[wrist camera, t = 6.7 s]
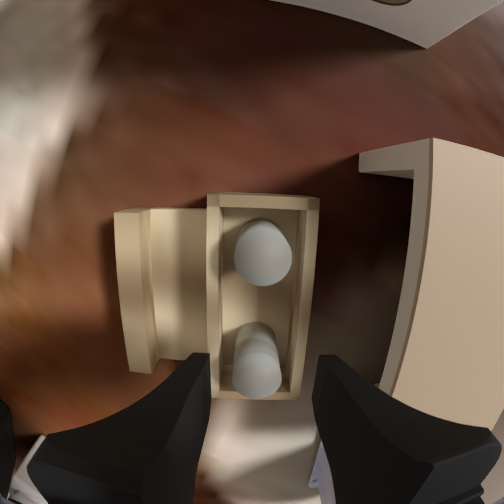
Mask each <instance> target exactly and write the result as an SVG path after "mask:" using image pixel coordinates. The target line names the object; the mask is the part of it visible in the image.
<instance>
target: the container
mask: <svg viewBox="0 0 504 504" xmlns="http://www.w3.org/2000/svg"><path fill="white" fill-rule="evenodd" d="M45 438H46V437H45V436H44V435H41V436H39V438H38V439H37V441H36V442H35V443H34V445H33V446H32V448H31V449H30V451H29V452H28V454H27V455H26V456H25V458H24V459H23V461H22V462H21V464H20V465H19V467H18V468H17V470H16V471H15V473H14V474H13V477H12V481H11V486H10V490H9V493H10V494H11V495H10V497H9V498H8V500H9V501H11V502H13V503H14V504H48V503H47V501H46V500H45V499H44V498H43V496H42V495H41V494H40V492H39V491H38V490H37V488H36V487H35V486H34V484H33V483H32V481H31V479H30V478H29V476H28V473H27V468H26V467H27V465H28V463H29V461H30V460H31V458H32V457H33V455H34V453H35V452H36V450H37V449H38V447H39V446H40V444H41V443H42V442H43V440H44V439H45Z"/></svg>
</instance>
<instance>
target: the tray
mask: <svg viewBox="0 0 504 504" xmlns="http://www.w3.org/2000/svg"><path fill="white" fill-rule="evenodd" d="M319 206H320V199H319V198H315V197H311V196H306V195H288V194H266V193H238V192H213V193H210V194H207V208H130V209H126V210H122V211H118V212H114V231H115V252H116V267H117V279H118V290H119V300H120V309H121V317H122V325H123V332H124V339H125V346H126V352H127V358H128V364H129V369H130V371H132V372H139V373H147V374H152V372H153V370H154V368H155V366H156V364H157V362H158V360H159V358H163V359H173V360H186V359H187V358H188V356H189V355H190V354H192V353H193V352H197V353H210V372H211V396H212V397H211V398H226V399H256V400H288V399H299V396H300V389H301V382H302V376H303V368H304V361H305V354H306V346H307V338H308V330H309V321H310V312H311V303H312V293H313V283H314V273H315V261H316V249H317V236H318V222H319Z"/></svg>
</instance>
